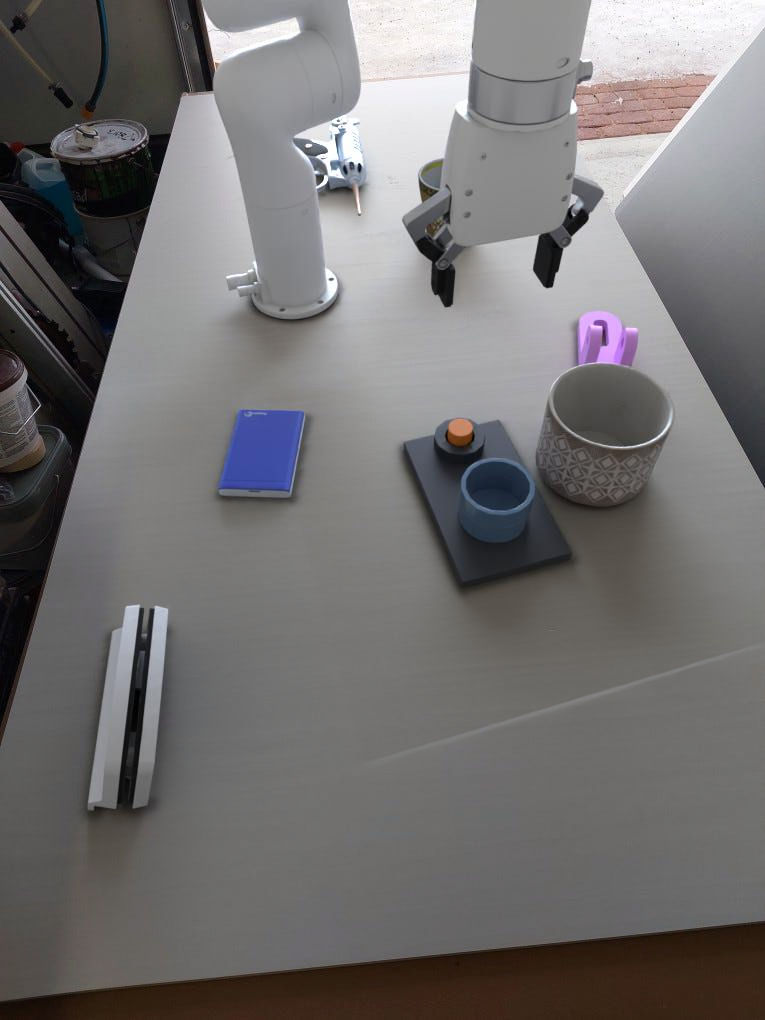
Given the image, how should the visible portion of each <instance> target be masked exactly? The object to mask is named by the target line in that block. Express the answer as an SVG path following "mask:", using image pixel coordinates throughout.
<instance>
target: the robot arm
mask: <svg viewBox="0 0 765 1020" xmlns="http://www.w3.org/2000/svg"><path fill="white" fill-rule="evenodd" d="M200 2H201V4H202V7H203V9H204V12H205V15H206V16H207V17H208V19H209V21H210V22H211V23H212V25H213V26H214V27H215V28H217V29H218V30H220V31H223V32H225V33H234V34H236V33H244V32H247V31H252V30H256V29H260V28H263V27H266V26H270V25H275V24H277V23H280V22H284V21H288V20H292V19H295V20H296V22H297V25H298V27H299V31H297V32H294V33H293V32H292V33H289V34H287V35H283V36H280V37H274V38H272V39H268V40H265V41H262V42H258V43H255V44H252V45H249V46H248V45H247V46H246V47H243V48H241V49H238V50H236V51H234V52H233V53H230V54H229V55H228V56H226V57H225V58H224V59H222V61H221V62H220V63H219V64H218V65H217V68H216V69H215V71H214V76H213V79H212V92H213V98H214V102H215V105H216V108H217V110H218V113H219V116H220V119H221V121H222V124H223V126H224V127H223V128H224V129H225V132H226V135H227V138H228V141H229V144H230V147H231V151H232V154H233V158H234V161H235V165H236V170H237V175H238V179H239V184H240V189H241V193H242V198H243V202H244V208H245V212H246V219H247V224H248V228H249V234H250V238H251V243H252V244H251V245H252V248H253V254H254V258H255V260H254V261H252V266H253V268H252V269H249V270H247V272H246V273H240V274H233V275H227V276H225V279H226V283H227V287H228V291H233V290H234V291H235V290H237V293H238V297H239V298H242V297H248V296H250V295H251V299H252V302H253V304H254V306H255V307H256V308H257V309H258V310H259V311H260V312H261V313H263V314H265V315H267V316H269V317H273V318H275V319H281V320H299V319H305V318H309V317H312V316H315V315H318V314H320V313H322V312H324V311H325V310H326V309H328V308H329V307H330V306H331V305H332V304H333V303H334V302H335V301H336V299H337V297H338V294H339V283H338V279H337V277H336V275H335V274H334V272H332V271H331V270H330V269H328V268H327V267H326V261H325V252H324V243H323V242H324V241H323V234H322V233H323V232H322V224H321V215H320V214H321V213H320V205H319V198H318V197H319V195H318V192H317V186H318V185H317V176H315V172H314V168H313V166H312V164H311V162H310V160H309V159H308V157H307V156H306V155H305V154H304V153H303V152H302V151H301V150H300V149H299V148H297V147H296V146H295V144H294V143H293V138H296V136H297V135H299V134H301V133H303V132H306V131H308V130H310V129H313V128H315V127H316V128H317V127H318V126H322V125H324V124H326V123H330V122H332V120H334V119H337V118H339V117H342V116H346V115H348V114H349V113H350V112H351V111H353V110H354V109H355V107H356V106H357V104H358V102H359V100H360V96H361V92H362V91H361V90H362V75H361V64H360V57H359V52H358V47H357V41H356V33H355V27H354V23H353V22H354V21H353V17H352V11H351V5H350V0H200ZM591 5H592V0H475V1H474V11H473V13H474V14H473V25H472V37H471V38H472V39H471V51H470V63H469V77H468V89H467V99H464V100H460V101H458V102H457V104H456V105H455V109H454V112H453V115H452V119H451V123H450V127H449V130H448V135H447V141H446V144H445V150H444V154H443V155H444V156H443V158H444V161H443V168H442V175H441V182H440V191H439V192H438V193H436V194H435V195H433V196H432V197H430V198H429V199H427V200H426V201H424V202H423V203H422V202H421V203H420V204H418V205H417V206H415V207H414V208H411V210H409V211H408V212H406V213H405V214H404V215H403V216H402V219H401V222H402V224H403V226H404V227H405V229H406V232H407V233H408V235H409V237H410V239H411V240H412V242H413V244H414V246H415V247H416V248H417V250H418V252H419V253H420V254H421V255H423V256H424V257H425V258H426V259H428V260H429V261H430V262H431V270H430V287H431V291H432V294H433V295H434V296H438V298H439V299H440V302H441V303H442V305H443V307H444V308H445V309H447V308H451V307H452V306H453V305H454V299H455V297H454V295H455V285H456V273H457V272H456V268H455V266H454V263H453V262H454V261H455V260H456V259H457V258H458V257H459V255H460V254H461V253H462V252H463V250H464V249H465V248H466V247H476V246H483V245H488V244H493V243H499V242H506V241H511V240H512V241H513V240H516V239H522V238H527V237H534V236H538V239H537V244H536V249H535V255H534V260H533V266H532V271H533V273H534V275H535V276H536V277H537V279H538V280H539V282H540V284H541V285H542V287H543V288H545V289H551V288H554V284H555V279H556V275H557V273H559V270H560V266H561V263H562V258H563V254H564V253H563V252H564V249H565V248H567V247H569V246H570V245H571V244H572V241H573V236H574V235H575V234H576V233H577V232H578V231H580V230H581V229H582V228H583V227H584V226H585V225H586V224H587V223H588V221H589V219H590V214H591V213H592V212H594V210H595V208H596V207H597V206H598V204H599V203H600V201H601V200H602V199H603V198H604V195H605V190H604V189H603V188H602V187H601V186H600V185H599V183H598V182H597V181H594V180H593V179H590V178H587V177H585V176H583V175H581V174H578V173H576V172H575V171H576V163H577V152H578V132H579V131H578V130H579V129H578V127H579V125H578V124H579V123H578V122H579V121H578V119H579V118H578V105H577V103H576V101H574V100H575V97H576V91H577V88H578V85H581V84H582V83H583V82H588V81H590V80H591V79H592V77H593V73H594V64H593V62H592V59H582V58H581V56H582V52H583V47H584V41H585V37H586V36H585V35H586V31H587V25H588V21H589V15H590V9H591ZM572 195H574V196H576V197H577V199H575V203H572V204H571V205H570V202H571V197H572ZM438 218H440V220H441V222H443V221H445V223H444V225H443V226H442V227H441V228H440V230H439V231H438V232H437V233H436V235H435V236H434V237H433V238H432V237H431V236H430V235H429V234H427V231H426V227H427V226H428V225H429V224H431V223H432V222H434V221H435V220H437V219H438ZM451 239H452V240H451ZM450 240H451V241H450ZM449 241H450V242H449ZM448 242H449V243H448ZM446 245H447V246H446ZM445 246H446V247H445Z"/></svg>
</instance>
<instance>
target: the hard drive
mask: <svg viewBox="0 0 765 1020" xmlns="http://www.w3.org/2000/svg"><path fill="white" fill-rule="evenodd" d="M305 421H306V414H305V411H303V410H293V409H255V408H254V409H251V408H250V409H249V408H243V409H242V408H241V409H238V412H237V415H236V419H235V423H234V427H233V429H232V434H231V438H230V442H229V446H228V449H227V454H226V457H225V460H224V464H223V468H222V472H221V475H220V480H219V483H218V488H217V490H218V493H219V495H220V496H224V497H247V498H248V497H250V498H251V497H252V498H253V497H254V498H279V499H281V498H282V499H288V498H291V496H292V492H293V486H294V481H295V477H296V471H297V465H298V459H299V454H300V448H301V443H302V438H303V432H304V426H305Z"/></svg>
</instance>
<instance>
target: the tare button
mask: <svg viewBox="0 0 765 1020" xmlns="http://www.w3.org/2000/svg"><path fill="white" fill-rule="evenodd" d="M465 419H466V418H465ZM465 419H455V420H453V421H451V422H450V424H449V426H448V441H449V442H450V443H451V444H452V445H454V446H459V447H462V446H466V445H468V444H469V443H470V442H471V440H472V434H473V426H472V424H471V423H470V422H469V421H468V420H465Z"/></svg>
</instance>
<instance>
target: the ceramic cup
mask: <svg viewBox="0 0 765 1020" xmlns="http://www.w3.org/2000/svg"><path fill="white" fill-rule="evenodd" d="M443 161H444V157H441V158H436V159H433V160H431V161H427V162H426V163H425V164H424V165H423V166H421V167H420V169H419V171H418V172H417V173H418V174H417V177H418V187H419V188H418V189H419V194H420V201H421V203H423V202H424V201H426V200H427V199H429V198H430V197H432V196H433V195H435V194H436V193H438V192H439V191H440V182H441V175H442V168H443ZM444 223H445V221H443V222H441V220H440V218H438V219H437V220H435V221H434V222H432V223H431V224H429V225H428V226H427V227H426V229H425V232H426V233H427V234H429V235H430V236H431V237H432V238H433V237H434V236H435V235H436V233H437V232H438V231H439V230H440V228H441V227H442V226H443V225H444ZM451 240H452V239H451ZM451 240H450V241H451ZM450 241H449V242H450ZM449 242H448V243H449ZM446 246H447V245H446ZM446 246H445V247H446Z"/></svg>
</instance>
